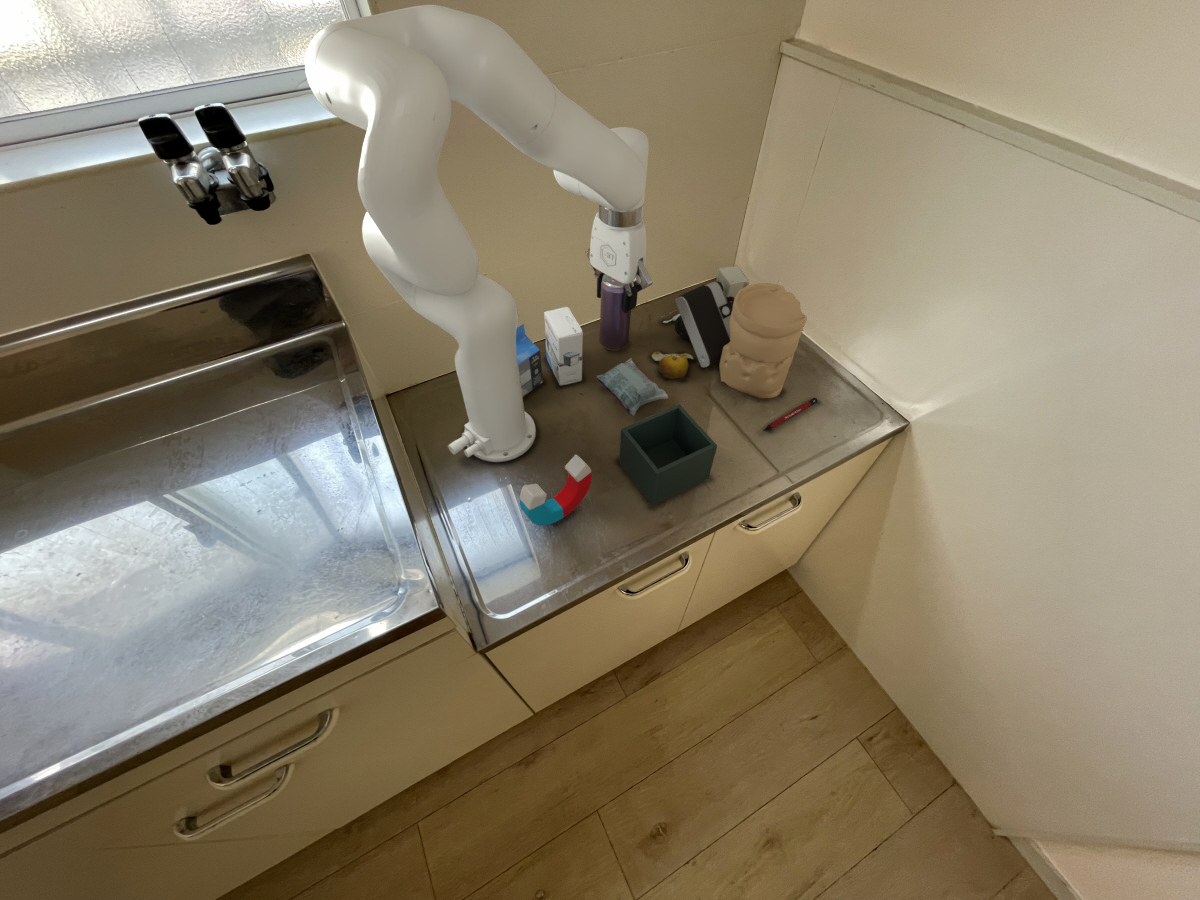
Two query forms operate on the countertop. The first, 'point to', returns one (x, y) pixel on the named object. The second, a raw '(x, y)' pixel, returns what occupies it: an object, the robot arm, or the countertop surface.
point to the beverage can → (613, 315)
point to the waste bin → (666, 453)
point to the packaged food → (630, 386)
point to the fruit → (672, 364)
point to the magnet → (563, 501)
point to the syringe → (673, 318)
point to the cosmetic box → (732, 280)
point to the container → (761, 339)
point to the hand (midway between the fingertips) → (616, 301)
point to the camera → (705, 321)
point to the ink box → (564, 345)
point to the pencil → (791, 414)
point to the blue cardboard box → (528, 362)
